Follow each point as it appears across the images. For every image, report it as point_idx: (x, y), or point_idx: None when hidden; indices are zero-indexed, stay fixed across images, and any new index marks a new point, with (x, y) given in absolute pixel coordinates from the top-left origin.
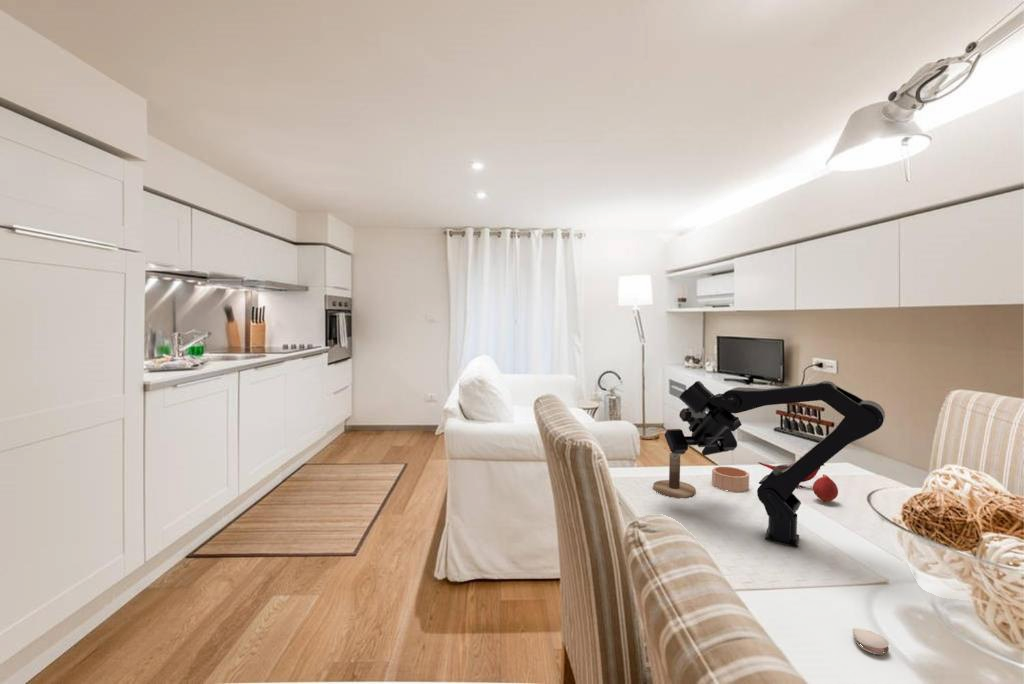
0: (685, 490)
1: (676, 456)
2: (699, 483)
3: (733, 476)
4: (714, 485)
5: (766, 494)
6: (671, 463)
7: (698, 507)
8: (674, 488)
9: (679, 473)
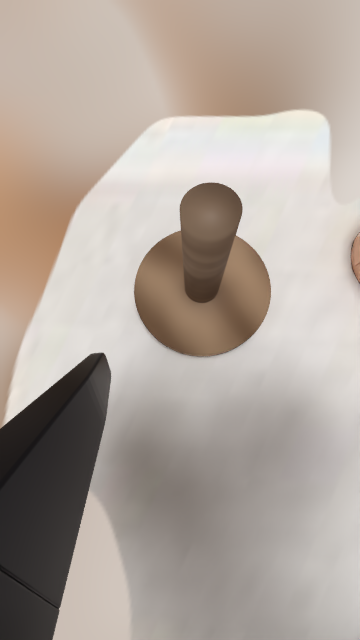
0: (227, 317)
1: (102, 416)
2: (310, 237)
3: None
4: (353, 261)
5: None
6: (184, 250)
7: (220, 435)
8: (195, 301)
9: (219, 277)
